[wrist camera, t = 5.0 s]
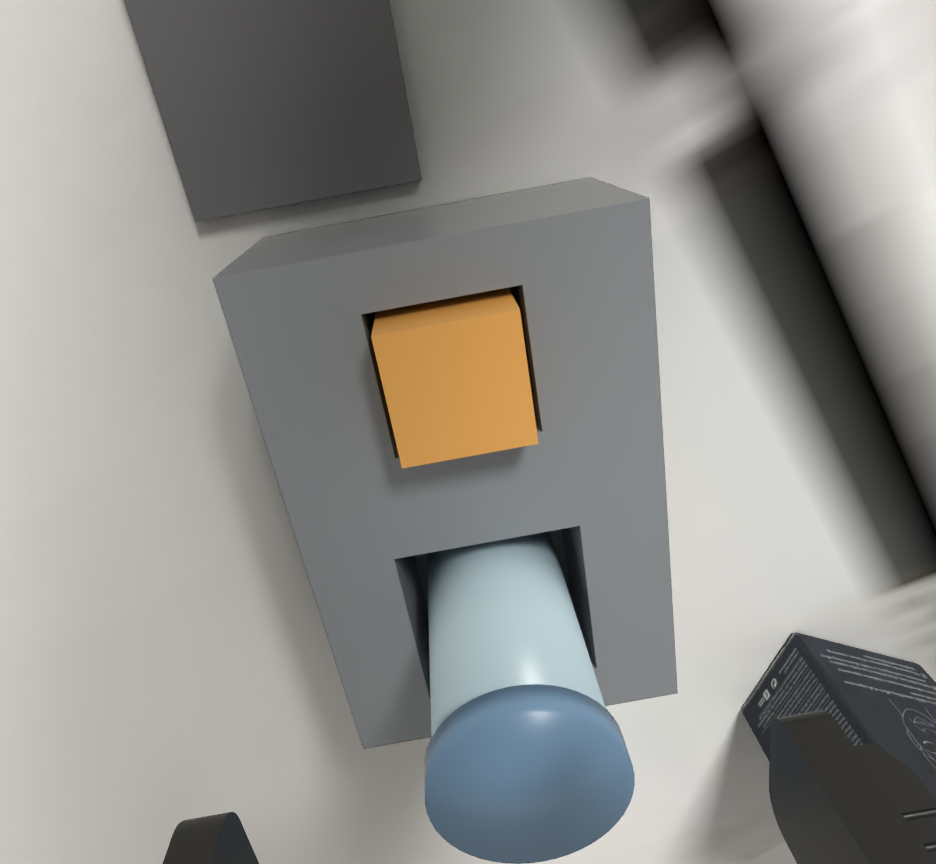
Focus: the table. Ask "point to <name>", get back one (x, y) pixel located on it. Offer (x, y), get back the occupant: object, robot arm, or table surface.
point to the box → (852, 699)
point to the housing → (480, 476)
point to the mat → (277, 98)
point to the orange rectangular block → (455, 377)
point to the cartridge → (516, 709)
